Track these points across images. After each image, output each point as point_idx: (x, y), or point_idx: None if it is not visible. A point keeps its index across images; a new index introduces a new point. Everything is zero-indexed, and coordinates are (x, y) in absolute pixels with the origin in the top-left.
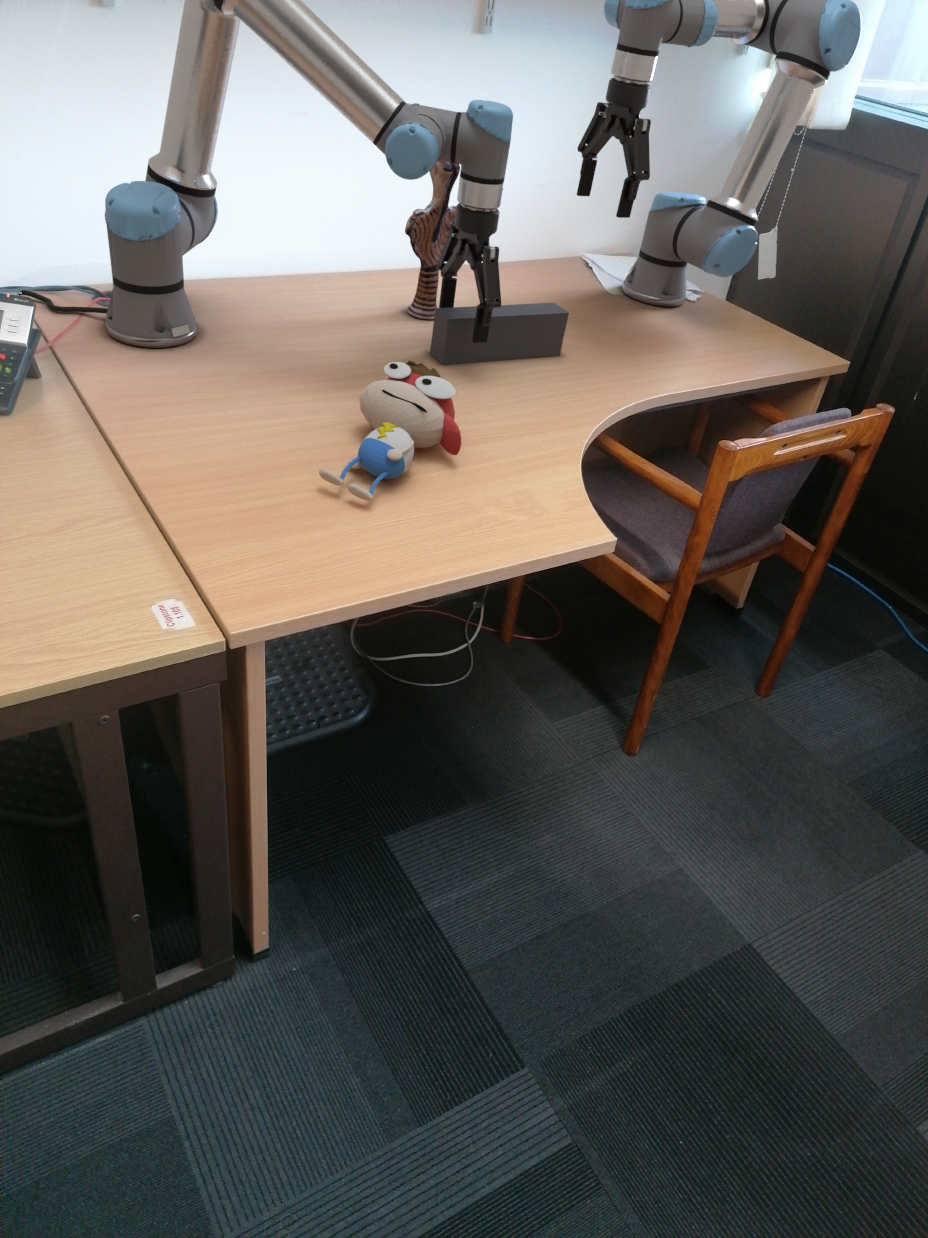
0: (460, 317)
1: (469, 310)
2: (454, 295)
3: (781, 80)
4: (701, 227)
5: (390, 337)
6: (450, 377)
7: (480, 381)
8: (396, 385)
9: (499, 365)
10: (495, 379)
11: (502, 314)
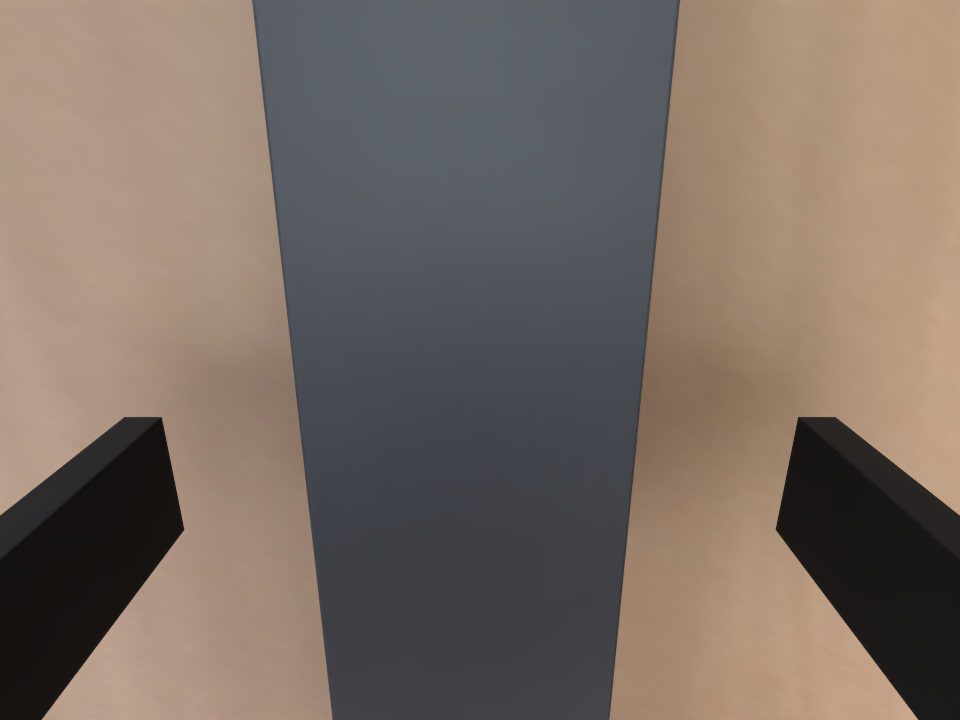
0: (594, 642)
1: (420, 470)
2: (54, 526)
3: None
4: None
5: (170, 612)
6: (709, 526)
7: (813, 391)
8: None
9: None
10: (826, 285)
11: (612, 82)
